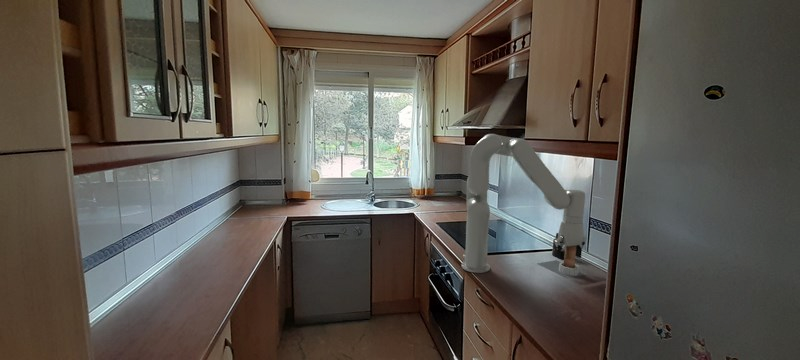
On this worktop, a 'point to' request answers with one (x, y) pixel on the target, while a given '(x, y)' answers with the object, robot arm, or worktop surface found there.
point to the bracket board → (562, 269)
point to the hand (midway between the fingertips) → (569, 257)
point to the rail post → (570, 257)
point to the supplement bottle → (555, 250)
